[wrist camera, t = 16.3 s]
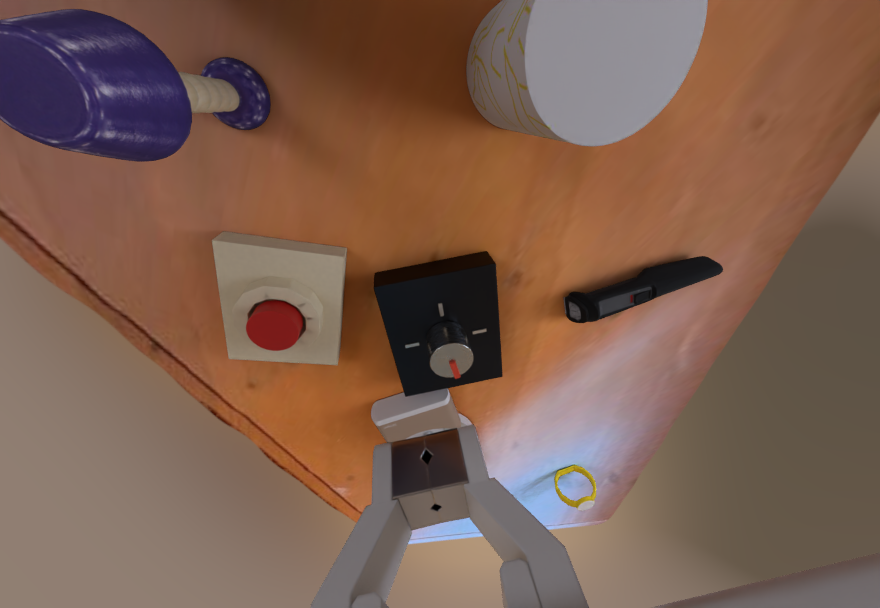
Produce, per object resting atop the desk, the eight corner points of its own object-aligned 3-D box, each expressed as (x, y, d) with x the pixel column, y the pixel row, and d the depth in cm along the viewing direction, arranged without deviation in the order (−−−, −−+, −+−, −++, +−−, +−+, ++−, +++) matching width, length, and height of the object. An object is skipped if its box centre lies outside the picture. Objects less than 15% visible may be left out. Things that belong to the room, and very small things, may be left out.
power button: (251, 297, 27) (243, 308, 26) (303, 302, 28) (298, 313, 26) (255, 336, 29) (247, 349, 27) (303, 340, 30) (298, 352, 28)
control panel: (374, 272, 31) (373, 288, 29) (487, 250, 32) (496, 264, 29) (404, 378, 39) (405, 398, 36) (495, 359, 39) (503, 377, 37)
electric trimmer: (697, 274, 37) (721, 287, 34) (565, 319, 38) (580, 335, 35) (701, 244, 35) (727, 255, 32) (562, 292, 36) (577, 307, 33)
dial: (420, 328, 32) (424, 354, 28) (459, 315, 32) (468, 339, 28) (432, 358, 34) (437, 385, 31) (469, 346, 34) (478, 371, 30)
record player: (459, 395, 37) (493, 484, 48) (454, 376, 40) (487, 464, 50) (361, 426, 37) (417, 507, 48) (362, 405, 40) (415, 486, 51)
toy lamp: (262, 50, 22) (42, -44, 8) (290, 128, 24) (161, 163, 10) (190, 63, 22) (-169, -10, 8) (225, 141, 24) (4, 193, 10)
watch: (549, 478, 55) (566, 516, 50) (548, 469, 53) (565, 507, 48) (584, 468, 55) (604, 505, 50) (584, 459, 53) (605, 496, 48)
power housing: (223, 230, 27) (200, 248, 24) (347, 247, 30) (341, 266, 26) (237, 344, 33) (220, 372, 30) (339, 351, 35) (335, 377, 32)
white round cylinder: (457, 10, 22) (518, -69, 12) (573, -18, 22) (730, -120, 12) (474, 140, 27) (530, 163, 16) (572, 116, 27) (686, 125, 17)
